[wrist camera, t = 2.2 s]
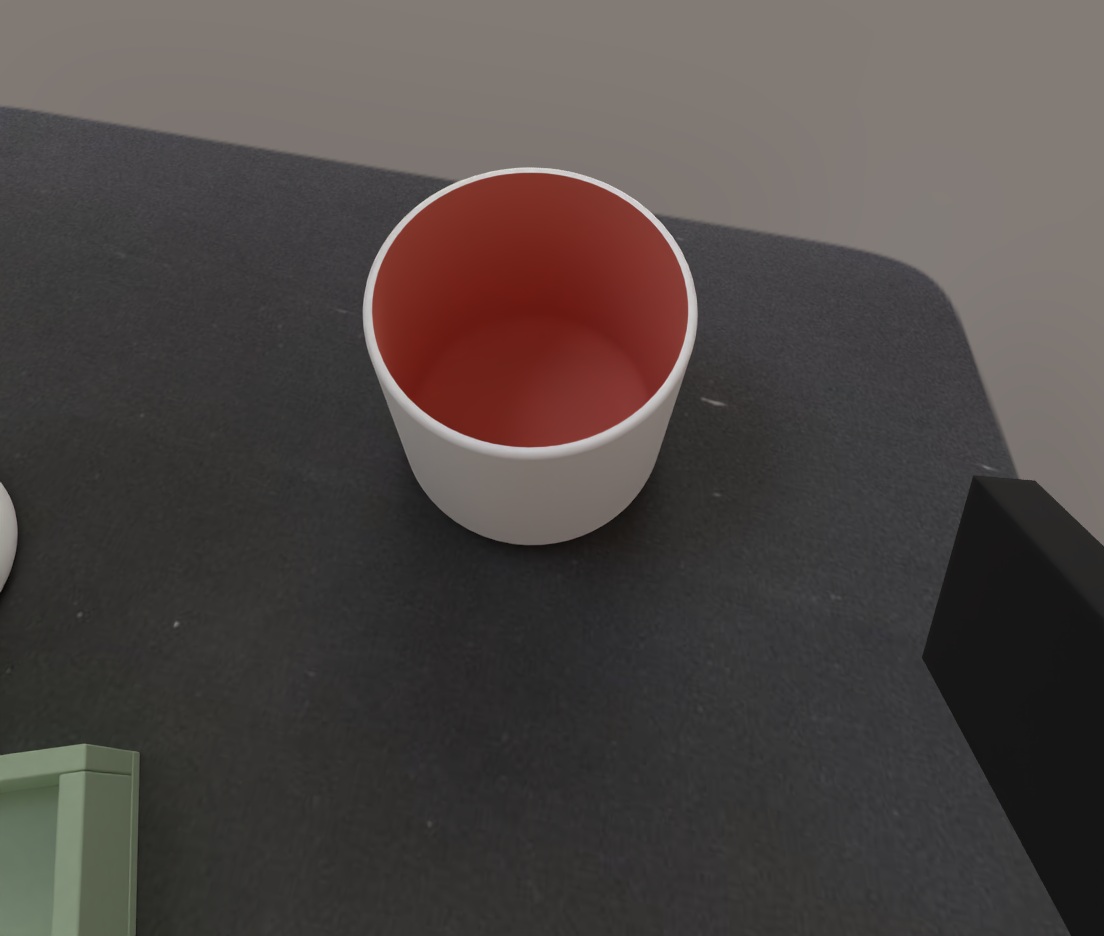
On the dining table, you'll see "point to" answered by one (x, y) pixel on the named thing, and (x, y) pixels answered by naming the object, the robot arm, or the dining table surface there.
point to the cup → (530, 349)
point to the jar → (7, 535)
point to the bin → (69, 841)
